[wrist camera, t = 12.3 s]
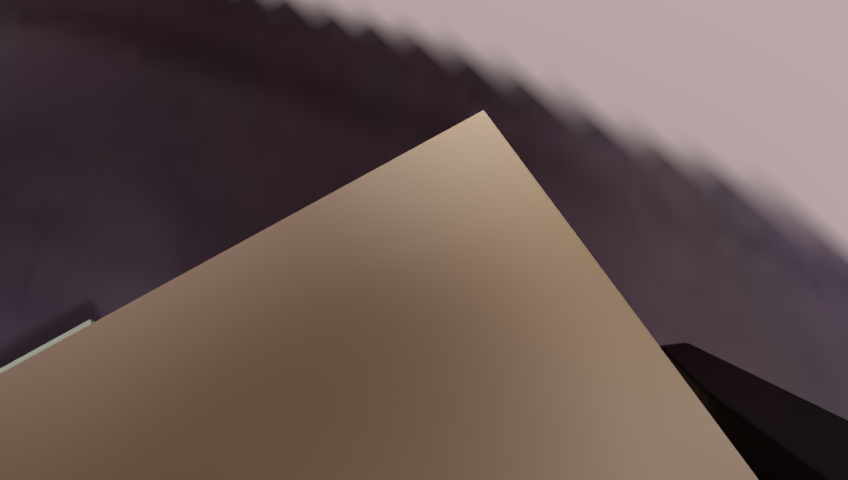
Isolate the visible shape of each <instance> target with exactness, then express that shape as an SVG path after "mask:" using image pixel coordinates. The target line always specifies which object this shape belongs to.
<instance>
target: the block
mask: <svg viewBox="0 0 848 480" xmlns="http://www.w3.org/2000/svg"><path fill="white" fill-rule="evenodd" d="M0 480H759V479H758V478H757V477H756V475H755V474H754V473H753V471H752V470H751V469H750V467H749V466H748V465H747V463H746V462H745V461H744V459H743V458H742V457H741V455H740V454H739V453H738V451H737V450H736V448H735V447H734V446H733V444H732V443H731V442H730V440H729V439H728V438H727V436H726V435H725V434H724V432H723V431H722V430H721V428H720V427H719V426H718V424H717V423H716V422H715V420H714V419H713V418H712V416H711V415H710V414H709V412H708V411H707V409H706V408H705V407H704V405H703V404H702V403H701V401H700V400H699V399H698V397H697V396H696V395H695V393H694V392H693V391H692V389H691V388H690V387H689V385H688V384H687V383H686V381H685V380H684V379H683V377H682V376H681V375H680V373H679V372H678V371H677V369H676V368H675V366H674V365H673V364H672V362H671V361H670V360H669V358H668V357H667V356H666V354H665V353H664V352H663V350H662V349H661V348H660V346H659V345H658V344H657V342H656V341H655V340H654V338H653V337H652V336H651V334H650V333H649V332H648V330H647V329H646V327H645V326H644V325H643V323H642V322H641V321H640V319H639V318H638V317H637V315H636V314H635V313H634V311H633V310H632V309H631V307H630V306H629V305H628V303H627V302H626V301H625V299H624V298H623V297H622V295H621V294H620V293H619V291H618V290H617V289H616V287H615V286H614V284H613V283H612V282H611V280H610V279H609V278H608V276H607V275H606V274H605V272H604V271H603V270H602V268H601V267H600V266H599V264H598V263H597V262H596V260H595V259H594V258H593V256H592V255H591V254H590V252H589V251H588V250H587V248H586V247H585V246H584V244H583V243H582V241H581V240H580V239H579V237H578V236H577V235H576V233H575V232H574V231H573V229H572V228H571V227H570V225H569V224H568V223H567V221H566V220H565V219H564V217H563V216H562V215H561V213H560V212H559V211H558V209H557V208H556V207H555V205H554V204H553V202H552V201H551V200H550V198H549V197H548V196H547V194H546V193H545V192H544V190H543V189H542V188H541V186H540V185H539V184H538V182H537V181H536V180H535V178H534V177H533V176H532V174H531V173H530V172H529V170H528V169H527V168H526V166H525V165H524V164H523V162H522V161H521V159H520V158H519V157H518V155H517V154H516V153H515V151H514V150H513V149H512V147H511V146H510V145H509V143H508V142H507V141H506V139H505V138H504V137H503V135H502V134H501V133H500V131H499V130H498V129H497V127H496V126H495V125H494V123H493V122H492V121H491V119H490V118H489V116H488V115H487V114H486V112H485V111H484V110H483V111H481V112H479V113H477V114H475V115H473V116H472V117H470V118H468V119H466V120H464V121H462V122H461V123H459V124H457V125H455V126H453V127H451V128H450V129H448V130H446V131H444V132H442V133H440V134H439V135H437V136H435V137H433V138H431V139H429V140H428V141H426V142H424V143H422V144H420V145H418V146H417V147H415V148H413V149H411V150H409V151H407V152H406V153H404V154H402V155H400V156H398V157H396V158H395V159H393V160H391V161H389V162H387V163H385V164H384V165H382V166H380V167H378V168H376V169H374V170H373V171H371V172H369V173H367V174H365V175H363V176H362V177H360V178H358V179H356V180H354V181H352V182H351V183H349V184H347V185H345V186H343V187H341V188H340V189H338V190H336V191H334V192H332V193H330V194H329V195H327V196H325V197H323V198H321V199H319V200H318V201H316V202H314V203H312V204H310V205H308V206H307V207H305V208H303V209H301V210H299V211H297V212H296V213H294V214H292V215H290V216H288V217H286V218H285V219H283V220H281V221H279V222H277V223H275V224H274V225H272V226H270V227H268V228H266V229H264V230H263V231H261V232H259V233H257V234H255V235H253V236H252V237H250V238H248V239H246V240H244V241H242V242H241V243H239V244H237V245H235V246H233V247H231V248H230V249H228V250H226V251H224V252H222V253H220V254H219V255H217V256H215V257H213V258H211V259H209V260H207V261H206V262H204V263H202V264H200V265H198V266H196V267H195V268H193V269H191V270H189V271H187V272H185V273H184V274H182V275H180V276H178V277H176V278H174V279H173V280H171V281H169V282H167V283H165V284H163V285H162V286H160V287H158V288H156V289H154V290H152V291H151V292H149V293H147V294H145V295H143V296H141V297H140V298H138V299H136V300H134V301H132V302H130V303H129V304H127V305H125V306H123V307H121V308H119V309H118V310H116V311H114V312H112V313H110V314H108V315H107V316H105V317H103V318H101V319H99V320H97V321H96V322H94V323H92V324H90V325H88V326H86V327H85V328H83V329H81V330H79V331H77V332H75V333H74V334H72V335H70V336H68V337H66V338H64V339H63V340H61V341H59V342H57V343H55V344H53V345H52V346H50V347H48V348H46V349H44V350H42V351H41V352H39V353H37V354H35V355H33V356H31V357H30V358H28V359H26V360H24V361H22V362H20V363H19V364H17V365H15V366H13V367H11V368H9V369H8V370H6V371H4V372H2V373H0Z"/></svg>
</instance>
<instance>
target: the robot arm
mask: <svg viewBox="0 0 848 480" xmlns="http://www.w3.org/2000/svg"><path fill="white" fill-rule="evenodd" d="M660 348H661V349H662V350H663V352H664V353H665V354H666V356H667V357H668V358H669V360H670V361H671V362H672V364H673V365H674V366H675V368H676V369H677V371H678V372H679V373H680V375H681V376H682V377H683V379H684V380H685V381H686V383H687V384H688V385H689V387H690V388H691V389H692V391H693V392H694V393H695V395H696V396H697V397H698V399H699V400H700V401H701V403H702V404H703V405H704V407H705V408H706V409H707V411H708V412H709V414H710V415H711V416H712V418H713V419H714V420H715V422H716V423H717V424H718V426H719V427H720V428H721V430H722V431H723V432H724V434H725V435H726V436H727V438H728V439H729V440H730V442H731V443H732V444H733V446H734V447H735V448H736V450H737V451H738V453H739V454H740V455H741V457H742V458H743V459H744V461H745V462H746V463H747V465H748V466H749V467H750V469H751V470H752V471H753V473H754V474H755V475H756V477H757V478H758V479H759V480H848V420H846V419H844V418H842V417H840V416H838V415H835V414H833V413H831V412H829V411H827V410H825V409H823V408H821V407H819V406H817V405H815V404H813V403H811V402H809V401H807V400H805V399H802V398H800V397H798V396H796V395H794V394H792V393H790V392H788V391H786V390H784V389H782V388H780V387H778V386H776V385H774V384H772V383H770V382H767V381H765V380H763V379H761V378H759V377H757V376H755V375H753V374H751V373H749V372H747V371H745V370H743V369H741V368H739V367H737V366H734V365H732V364H730V363H728V362H726V361H724V360H722V359H720V358H718V357H716V356H714V355H712V354H710V353H708V352H706V351H704V350H701V349H699V348H697V347H695V346H693V345H691V344H689V343H677V344H669V345H662V346H660Z"/></svg>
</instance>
